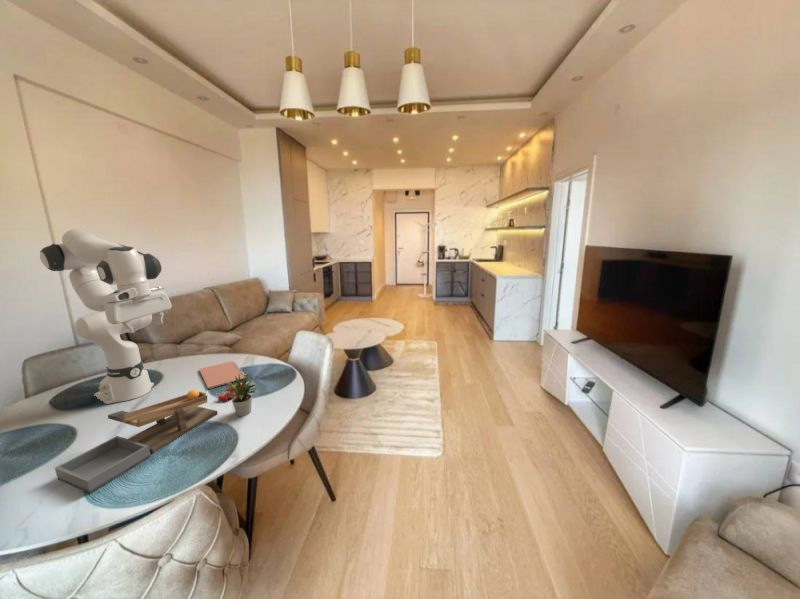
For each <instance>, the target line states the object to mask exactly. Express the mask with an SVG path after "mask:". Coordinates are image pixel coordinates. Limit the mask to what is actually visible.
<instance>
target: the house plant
mask: <svg viewBox="0 0 800 599" xmlns="http://www.w3.org/2000/svg"><path fill="white" fill-rule="evenodd" d="M249 375H250V371H248V372H247V373H245V376H244V379H243V380H242V382H241V381H240V374H239V380H238V378H237V377H236V376H235V378H236V382H233V381H232V380H231V381H232V382H233V383H229V382H228V381H226V382H225V383H227V384H226V385H225V384H224V385H223V386H226V387H230V388H232V390H234V392H235V393H236V395H237V396H236V395H234V394H232V393H226V394H225V396H226V397H228V396H232V395H234V396H235V397H234V398H233V399H231V402H232V405H233V408H234V410H235V413H236V416H237V417H244V416H247V415H249V414H250V413H251V412H252V402H253V395H252V394H257V392H256V391H258V392H260V390H259V389H258V388H257V387H256V386H257V384H251V383H252V381H253V380H254V379H255V378H257V377H258V375H256V376H254V377H253V378H251V379H250V380H249V382H248V383H247V381H248V378H249ZM227 380H229V379H227ZM241 383H242V385H241ZM235 384H237V385H235ZM218 385H220V384H218ZM234 385H235V386H234ZM230 390H231V389H230ZM226 397H225V398H226Z"/></svg>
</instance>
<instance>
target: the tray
mask: <svg viewBox="0 0 800 599" xmlns="http://www.w3.org/2000/svg"><path fill="white" fill-rule="evenodd" d="M151 456H152V455H151V453H150V450H149V446H148V445H145V444H141V443H138V442H135V441H132V440H129V438H124V437H122V436H119V435H115V436H114V437H112V438H110V439H108V440H106V441H104V442H103V443H100V444H98V445H96V446H95V447H93V448H91V449H89V450H87V451H85V452H82V453H81V454H79V455H77V456H75V457H74V458H71V459H69V460H68V461H65V462H63V463H61V464H59V465H57V466H56V467H54V471H55V475H56V477H57V481H60V482H62V483H63V484H67V485H69V486H71V487H74V488H76V489H79V490H80V491H83V492H85V493H88V494H90V495H91V494H93V493H94V492H96V491H98V490H99V489H100V488H103V487H104V486H105V485H106V486H107V484H109V483H111V482H112V481H114V480H115V479H118V478H119V477H120V476H122V475H123V474H124V475H125V473H127V472H128V471H130V470H132V469H134V468H135V467H137V466H138V465H139V464H141V463H143V462H145V461H146V460H148V459H150V458H151ZM149 457H150V458H149Z"/></svg>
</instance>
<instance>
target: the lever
mask: <svg viewBox="0 0 800 599" xmlns="http://www.w3.org/2000/svg"><path fill="white" fill-rule="evenodd" d="M197 391H198V392H199V397H198V398H196V399H193V400H189V399H188V398H187V393H186V394H183V395H181V396H180V395H179V396H177V397H173V398H170V399H167V400H164V401H162V402H158V403H155V404H151V405H148V406H146V407H142V408H139V409H136V410H133V411H130V412H129V411H126V410H120V411H117V412H114V413H109V414H108V415H107V419H109V420H112V421H116V422H119V423H122V424H126V425H130V426H134V427H136V428H141V427H143V426H147V425H149V424H151V423H154V422H156V421H157V420H160V419H163V418H165V419H166V418H168V417H170V416H172V415H174V416H175V411H176V410H178V409H180V408H181V409H183V410H184V411H185V410H188V409H190V408H193V407H196V406H198V407H200V406H201V405H204V404H207V403H208V395H207V393H206V392H204V391H199V390H197Z"/></svg>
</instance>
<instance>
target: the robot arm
mask: <svg viewBox="0 0 800 599" xmlns="http://www.w3.org/2000/svg"><path fill="white" fill-rule="evenodd" d="M61 242H62V243H58V244H57V243H56V244H55V243H52V244H51V245H47V246H45V247H43V248H42V249H41V250H40V253H39V259H40V261H41V263H42V265H43V266H44V267H45V268H46V269H48V270H50V271H51V272H64V271H68V270H69V271H70V270H71V271H70V273H69V275H68V278H69V281H70V284H71V286H72V288H73V290H74V292H75V293H76V295H77V296H78V297H79V299H80V300H81V302H82V304H83V305H84V306H85V307H86V308H87V309H89V310H91V311H95V312H92V313H89V314H86V315H83V316H81V317H78V319H77V320H76V321H75V324H74V332H75V333H76V335H77V336H78V337H80V338H81V339H83V340H85V341H88V342H91V343H93V344H95V345H97V346H98V347H99V348H100V349H101V351H102V352H103V354H104V357H105V361H106V363H107V366H106V367H105V370H106V376H105V377H104V378H103V379H102V380H101V381H100V382H99V386H98V391H97V392H95V393H94V395H93V397H95V396H96V397H97V398H96V397H95V398H96V399H97V400H99V399H100V400H99V401H100V402H102V401H103V402H102V403H104V404H105V405H110V404H113V403H119V402H125V401H131V400H133V399H134V400H135V399H137V398H139V397H142V396H144V395H146V394H148V393H149V392H151V390H152V387H153V386H154V385H155V384H154V383H155V382H152V381H151V379H150V377H149V373H148V370H147V369H145V368H144V362H143V360H142V358H141V355H140V349H139V345H138V344H137V343H135V342H133V341H131V340H122V338H121V335H122V334H126V333H129V334H134V333H137V332H138V330H141V329H143V328H146V327H148V326H149V325H150V324H151V322H152V320H153V316H152V315H154V314H156V316H157V318H156V319H155V324H156V325H157V326H159V325H162V324H164V320H163V319H164V315H165V314H164V312H165V311H169V310H171V309H172V306H173V305H172V302H171V300H170V298H169V296H168V294H167V290H166V289H165V288H164V287H161V286H157V287H152V288H151V287H150V284H149V280H155V279H157V278H158V277H159V275H160V274H161V272H162V264H161V262H160V260H159V259H158V258H157V257H156V256H154V255H152V254H151V253H143V252H141V251H138V250H137V249H136V248H135V247H133V246H126V245H124V244H120V243H117V242H113V241H110V240H107V239H104V238H101V237H99V236H98V235H96V234H94V233H92V232H89V231H87V230H84V229H80V228H79V229H77V228H75V229H70V230H67V231H66V232H64V234H63V235H62V237H61ZM111 285H116V288H117V289H116V290H114V289H113V288H112V286H111Z"/></svg>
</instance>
